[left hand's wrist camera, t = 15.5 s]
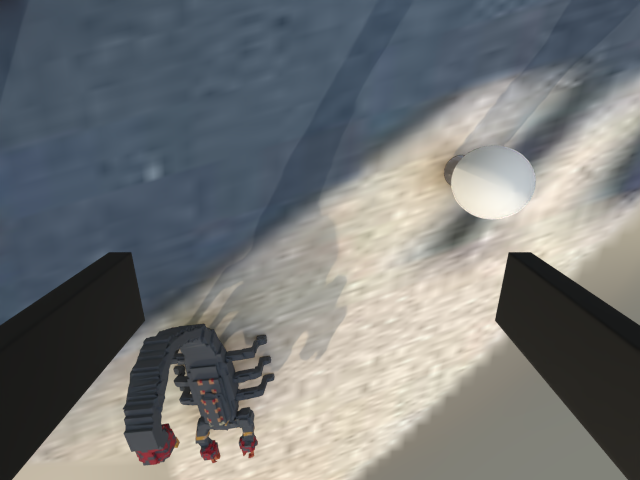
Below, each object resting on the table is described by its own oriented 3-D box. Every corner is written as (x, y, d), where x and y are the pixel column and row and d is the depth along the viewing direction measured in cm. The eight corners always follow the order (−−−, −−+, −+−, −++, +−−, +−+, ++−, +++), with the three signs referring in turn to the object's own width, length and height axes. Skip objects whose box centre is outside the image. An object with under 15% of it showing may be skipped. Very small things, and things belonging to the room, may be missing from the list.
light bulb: (422, 187, 40) (458, 213, 30) (452, 129, 38) (501, 137, 27) (473, 209, 41) (525, 242, 30) (505, 154, 39) (573, 170, 28)
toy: (253, 274, 44) (209, 380, 27) (286, 433, 53) (270, 588, 36) (148, 286, 44) (40, 397, 27) (199, 441, 53) (142, 598, 36)
